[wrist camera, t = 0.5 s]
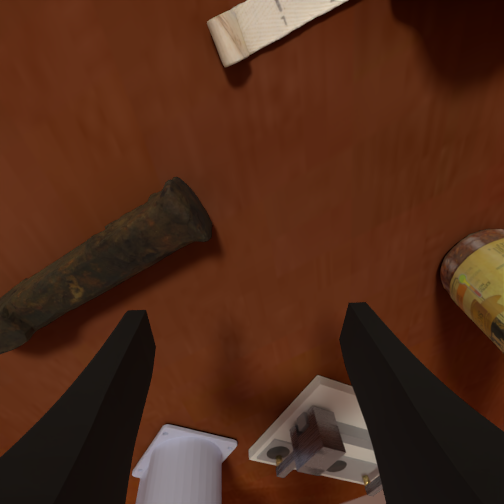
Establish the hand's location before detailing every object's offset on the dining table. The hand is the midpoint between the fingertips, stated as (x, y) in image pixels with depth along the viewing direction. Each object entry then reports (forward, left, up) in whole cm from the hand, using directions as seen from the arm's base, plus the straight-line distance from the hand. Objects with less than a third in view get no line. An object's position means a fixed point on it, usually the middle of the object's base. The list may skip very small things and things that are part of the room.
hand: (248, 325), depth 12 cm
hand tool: (-9, +7, -11) cm, 16 cm away
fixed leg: (-18, -16, -9) cm, 26 cm away
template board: (-18, -22, -11) cm, 30 cm away
